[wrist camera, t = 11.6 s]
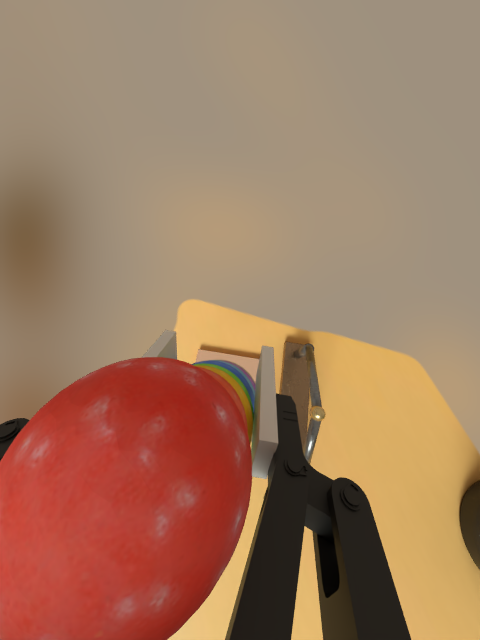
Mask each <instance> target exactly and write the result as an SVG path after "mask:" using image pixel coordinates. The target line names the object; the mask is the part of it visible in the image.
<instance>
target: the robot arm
mask: <svg viewBox="0 0 480 640" xmlns="http://www.w3.org/2000/svg"><path fill="white" fill-rule="evenodd" d="M144 357H164V358H171V359H176V360H177V345H176V332H174V331H168V330H165V331H164V332H163V333H162V335H161V336H160V337H159V338H158V339H157V340H156V342H155V343H154V344H153V345H152V346H151V347H150V348H149V350H148V351H147V352H146V353H145V354H144V355H143V356H142V358H144ZM28 422H29V420H28V419H25V418H17V419H13V420H10V421H7V422H5V423H3V424H1V425H0V461H1V459H2V458H3V456H4V454H5V453H6V451H7V450H8V448H9V447H10V445H11V443H12V442H13V441H14V439H15V438H16V436H17V435H18V434H19V432H20V431H21V430H22V429H23V428H24V426H25V425H26V424H27V423H28ZM251 454H252V476H253V477H258V478H263V479H266V478H267V475H268V487H267V490H266V493H265V496H264V498H263V499H264V501H263V504H262V508H261V511H260V515H259V519H258V522H257V526H256V530H255V533H254V537H253V540H252V544H251V548H250V551H249V555H248V558H247V562H246V566H245V569H244V573H243V576H242V580H241V584H240V587H239V591H238V594H237V598H236V602H235V605H234V609H233V613H232V616H231V620H230V623H229V627H228V631H227V634H226V638H225V640H291V634H292V626H293V617H294V609H295V600H296V592H297V584H298V575H299V567H300V558H301V550H302V542H303V533H304V526H306V527H307V528H309V529H310V530H312V531H313V540H314V551H315V561H316V571H317V581H318V591H319V601H320V611H321V621H322V632H323V640H411V638H410V634H409V631H408V628H407V624H406V621H405V618H404V615H403V611H402V608H401V605H400V602H399V598H398V595H397V592H396V588H395V585H394V582H393V579H392V575H391V572H390V569H389V566H388V562H387V559H386V556H385V552H384V549H383V546H382V543H381V539H380V536H379V533H378V530H377V526H376V523H375V520H374V517H373V513H372V510H371V507H370V503H369V501H368V499H367V497H366V495H365V493H364V492H363V491H362V489H361V488H360V487H359V486H358V485H357V484H356V483H354V482H353V481H352V480H349V479H347V478H337V479H336V480H332V479H330V478H328V477H327V476H325V475H323V474H321V473H319V472H318V471H316V470H315V469H314V468H313V467H312V466H311V465H310V464H309V463H308V461H307V460H306V458H305V456H304V453H303V449H302V442H301V436H300V429H299V423H298V416H297V410H296V404H295V402H294V401H293V399H292V397H291V396H287V395H282V394H276V389H275V369H274V350H273V347H268V346H262V349H261V354H260V359H259V364H258V369H257V374H256V386H255V401H254V421H253V433H252V448H251ZM460 522H461V530H462V534H463V538H464V541H465V544H466V547H467V549H468V551H469V553H470V555H471V557H472V559H473V561H474V562H475V564H476V565H477V567H478V568H479V569H480V481H478V482H476V483H475V484H474V485H472V486H471V487H470V488H469V490H468V491H467V493H466V494H465V496H464V499H463V501H462V505H461V512H460Z"/></svg>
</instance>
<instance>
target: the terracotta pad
mask: <svg viewBox="0 0 480 640" xmlns="http://www.w3.org/2000/svg"><path fill="white" fill-rule="evenodd" d="M207 360H227V361H231V362H234V363H236V364H238V365H240V366H241V367H243V368H244V369H245V370H246V371H247V372H248V373H249V374H250V375H251V376H252V378H253V380H254V381H255V383H256V374H257V369H258V364H259V359H255V358H249V357H243V356H237V355H231V354H225V353H218V352H212V351H206V350H200V349H198V354H197V358H196V362H201V361H207ZM251 441H252V440H251Z"/></svg>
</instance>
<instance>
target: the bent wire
mask: <svg viewBox="0 0 480 640" xmlns="http://www.w3.org/2000/svg"><path fill="white" fill-rule="evenodd" d="M309 387H310V396H311V405H312V408H311V409H310V415H311V420H310V424H309V428H308V432H307V421H308V404H309ZM279 394H282V395H287V396H291V397H292V399H293V401H294V402H295V404H296V410H297V416H298V423H299V429H300V436H301V442H302V449H303V453H304V456H305V458H306V460H307V461H308V463H309V464H310V462H311V458H312V454H313V451H314V447H315V443H316V439H317V435H318V431H319V427H320V423H321V421H322V420H323V419H324V418H325V411H324V409H323V408H322V405H321V399H320V392H319V385H318V378H317V372H316V365H315V358H314V347H313V345H311V344H306V345H303V344H296V343H290V342H285V343H284V353H283V363H282V373H281V383H280V393H279Z"/></svg>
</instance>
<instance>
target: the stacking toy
mask: <svg viewBox="0 0 480 640" xmlns="http://www.w3.org/2000/svg"><path fill="white" fill-rule="evenodd" d="M255 386H256V383H255V381H254V380H253V378H252V376H251V375H250V374H249V373H248V372H247V371H246V370H245V369H244V368H243V367H241V366H240V365H238V364H236V363H234V362H231V361H227V360H207V361H201V362H196V363H194V364H189V363H186V362H183V361H180V360H176V359H171V358H164V357H144V358H135V359H129V360H124V361H120V362H117V363H114V364H111V365H108V366H105V367H103V368H101V369H99V370H96V371H94V372H92V373H90V374H88V375H86V376H85V377H82V378H81V379H79V380H77V381H75V382H74V383H73V384H71V385H69V386H68V387H67V388H65V389H64V390H62V391H61V392H59V393H58V394H57V395H56V396H55V397H54V398H53V399H51V400H50V401H49V402H48V403H47V404H46V405H44V406H43V407H42V408H41V409H40V410H39V411H38V412H37V413H36V414H35V415H34V417H32V419H31V420H30V421H29V422H28V423H27V424H26V425H25V426H24V428H23V429H22V430H21V431H20V432H19V434H18V435H17V436H16V438H15V439H14V441H13V442H12V443H11V445H10V447H9V448H8V450H7V451H6V453H5V454H4V456H3V458H2V459H1V461H0V640H167V639H168V638H169V637H171V636H172V635H173V634H174V633H176V632H177V631H178V630H179V629H180V628H181V627H182V626H183V625H184V624H185V623H186V621H187V620H188V619H189V618H190V617H191V616H192V615H193V614H194V613H195V612H196V611H197V610H198V609H199V607H200V606H201V605H202V604H203V602H204V601H205V600H206V598H207V597H208V596H209V595H210V593H211V591H212V590H213V588H214V586H215V585H216V583H217V581H218V580H219V578H220V576H221V575H222V573H223V571H224V570H225V568H226V566H227V565H228V563H229V561H230V559H231V557H232V555H233V553H234V551H235V548H236V546H237V543H238V541H239V538H240V535H241V532H242V529H243V526H244V523H245V519H246V515H247V511H248V507H249V501H250V493H251V485H252V454H251V448H250V443H251V440H252V433H253V421H254V401H255Z"/></svg>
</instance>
